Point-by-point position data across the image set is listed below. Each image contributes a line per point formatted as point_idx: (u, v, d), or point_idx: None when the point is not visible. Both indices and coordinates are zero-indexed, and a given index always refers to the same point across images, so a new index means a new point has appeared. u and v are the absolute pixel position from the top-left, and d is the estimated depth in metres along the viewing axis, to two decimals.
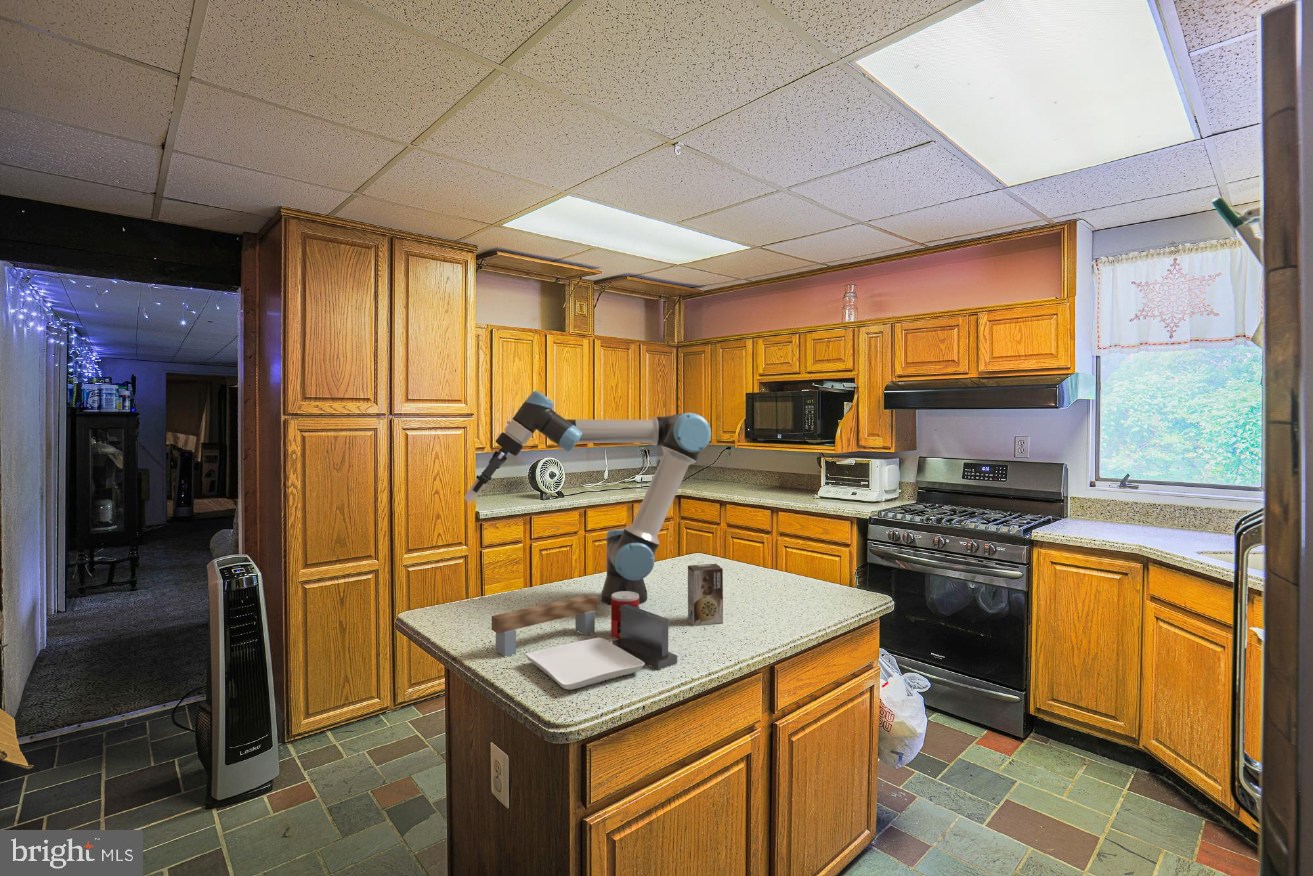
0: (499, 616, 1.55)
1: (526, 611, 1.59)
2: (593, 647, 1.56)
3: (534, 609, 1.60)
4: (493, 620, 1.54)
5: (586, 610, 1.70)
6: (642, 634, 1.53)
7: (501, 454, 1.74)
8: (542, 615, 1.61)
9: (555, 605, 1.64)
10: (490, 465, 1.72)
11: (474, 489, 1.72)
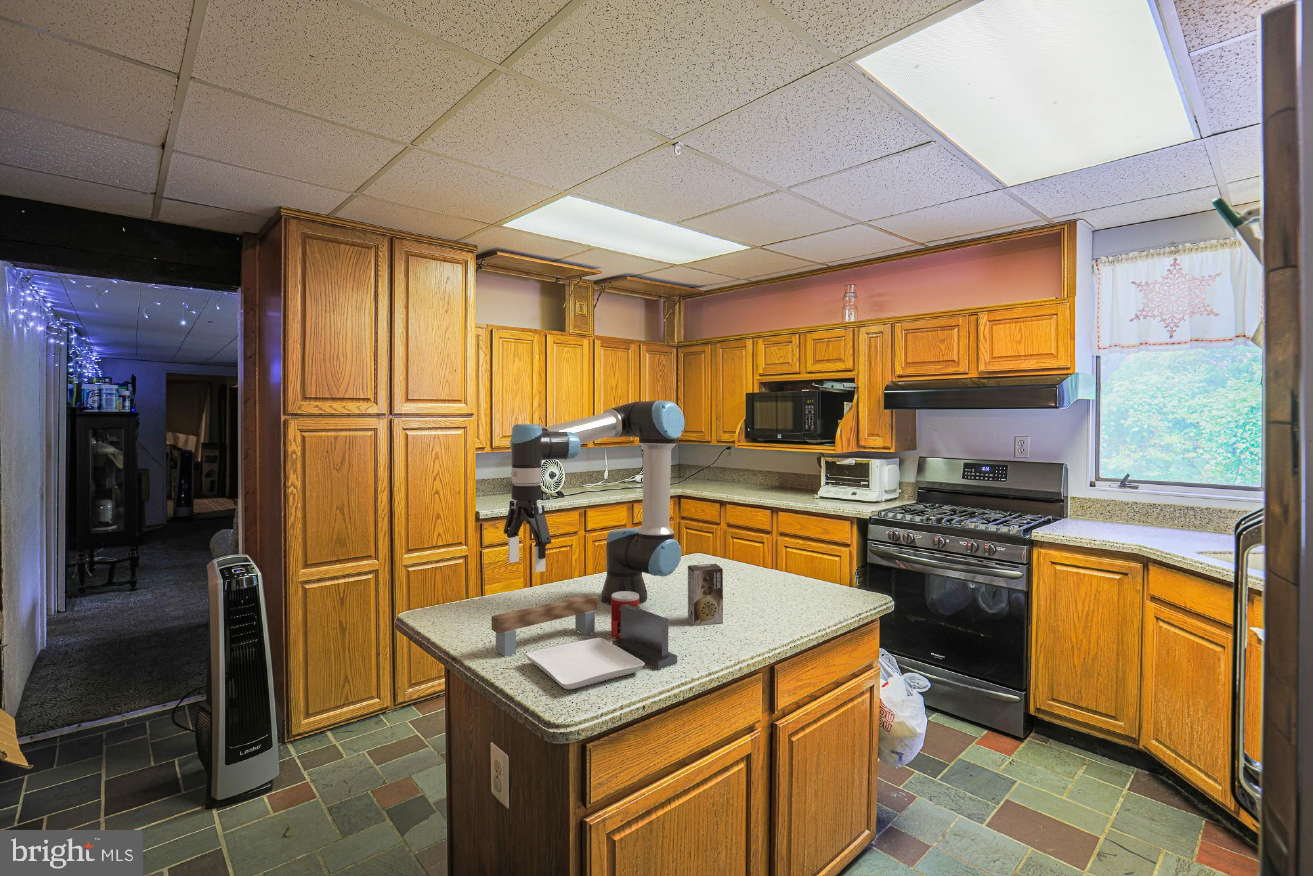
0: (499, 616, 1.55)
1: (526, 611, 1.59)
2: (593, 647, 1.56)
3: (534, 609, 1.60)
4: (493, 620, 1.54)
5: (586, 610, 1.70)
6: (642, 634, 1.53)
7: (539, 508, 1.54)
8: (542, 615, 1.61)
9: (555, 605, 1.64)
10: (540, 525, 1.52)
11: (542, 557, 1.53)
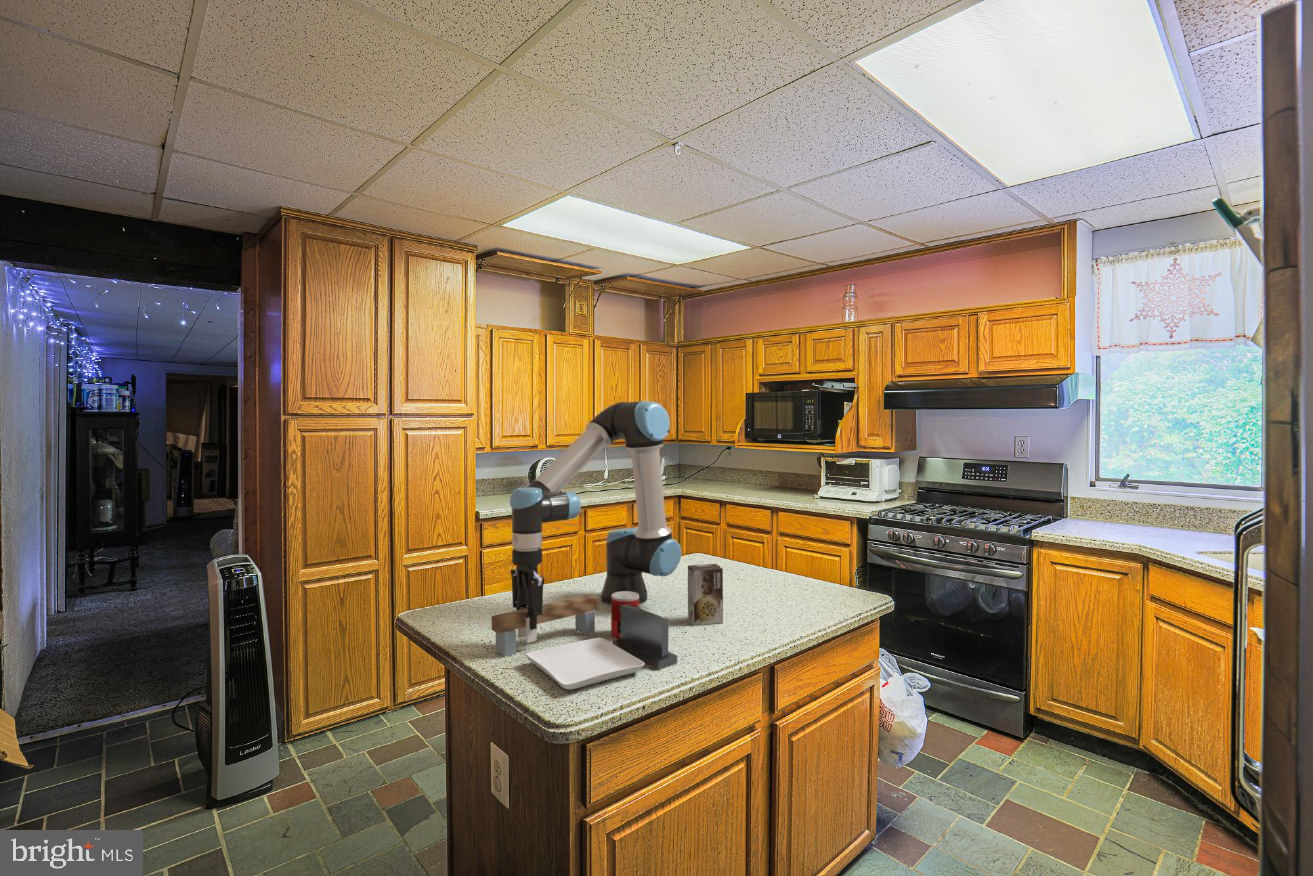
0: (499, 616, 1.55)
1: (526, 611, 1.59)
2: (593, 647, 1.56)
3: None
4: (494, 620, 1.54)
5: (586, 610, 1.70)
6: (642, 634, 1.53)
7: (539, 581, 1.54)
8: (542, 615, 1.61)
9: (555, 605, 1.64)
10: (536, 598, 1.55)
11: (533, 627, 1.57)
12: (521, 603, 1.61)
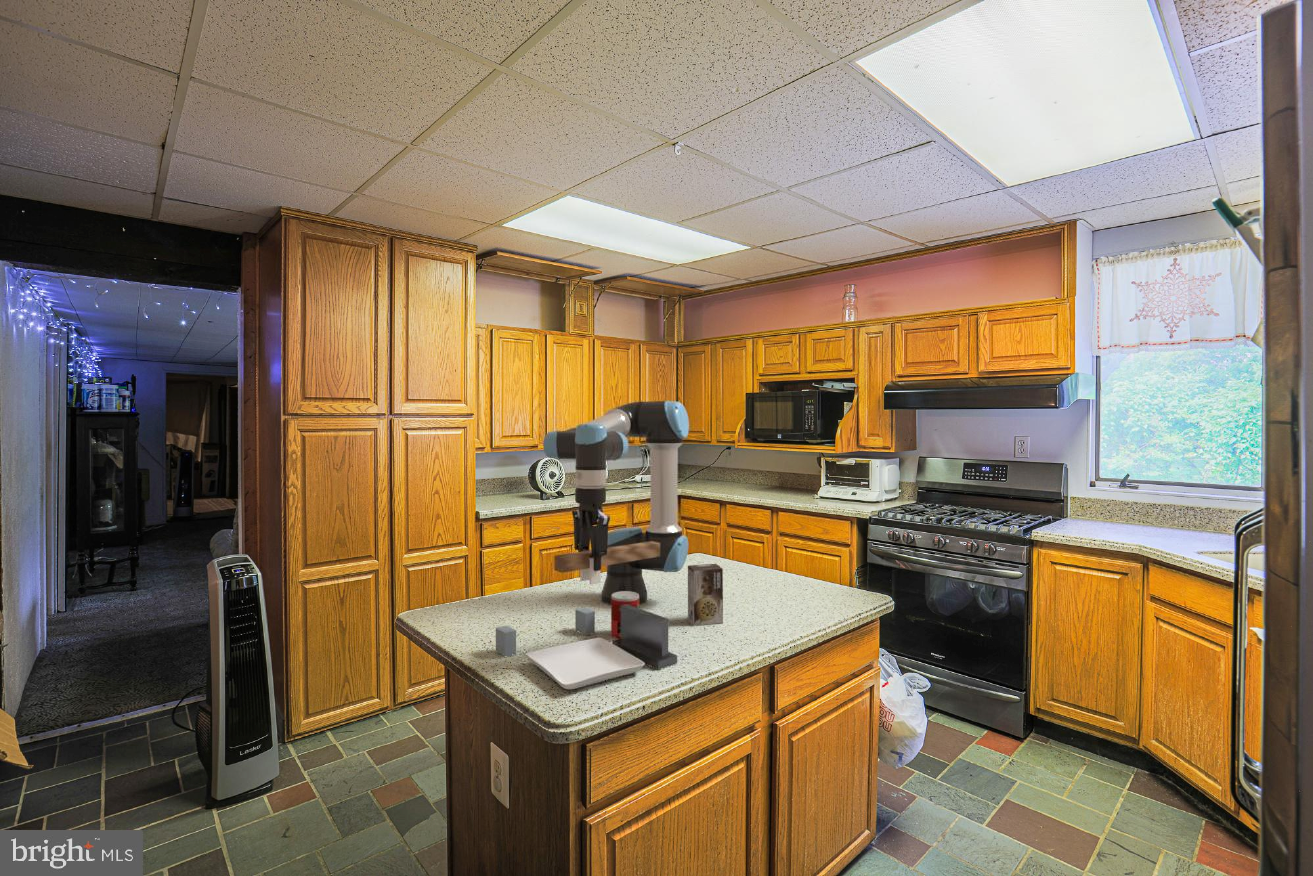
0: (562, 556, 1.48)
1: (590, 552, 1.52)
2: (593, 647, 1.56)
3: None
4: (557, 559, 1.47)
5: (649, 556, 1.62)
6: (642, 634, 1.53)
7: (605, 519, 1.47)
8: (606, 557, 1.54)
9: (618, 548, 1.57)
10: (601, 537, 1.48)
11: (597, 569, 1.50)
12: (584, 545, 1.54)
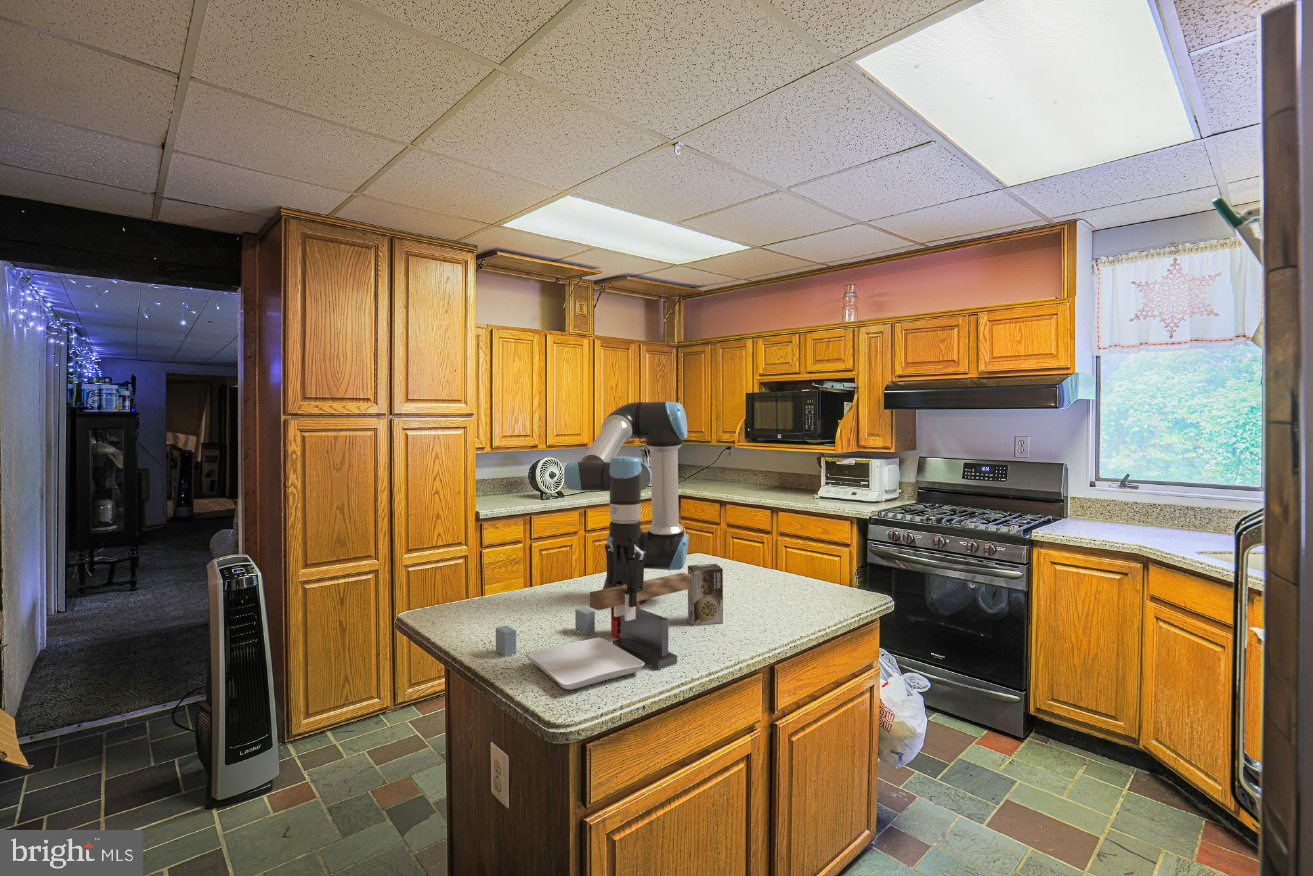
0: (598, 592, 1.45)
1: (624, 587, 1.49)
2: (593, 647, 1.56)
3: None
4: (592, 596, 1.44)
5: (681, 588, 1.60)
6: (642, 634, 1.53)
7: (641, 555, 1.45)
8: (640, 592, 1.51)
9: (651, 582, 1.54)
10: (637, 573, 1.45)
11: (633, 605, 1.47)
12: (617, 579, 1.51)
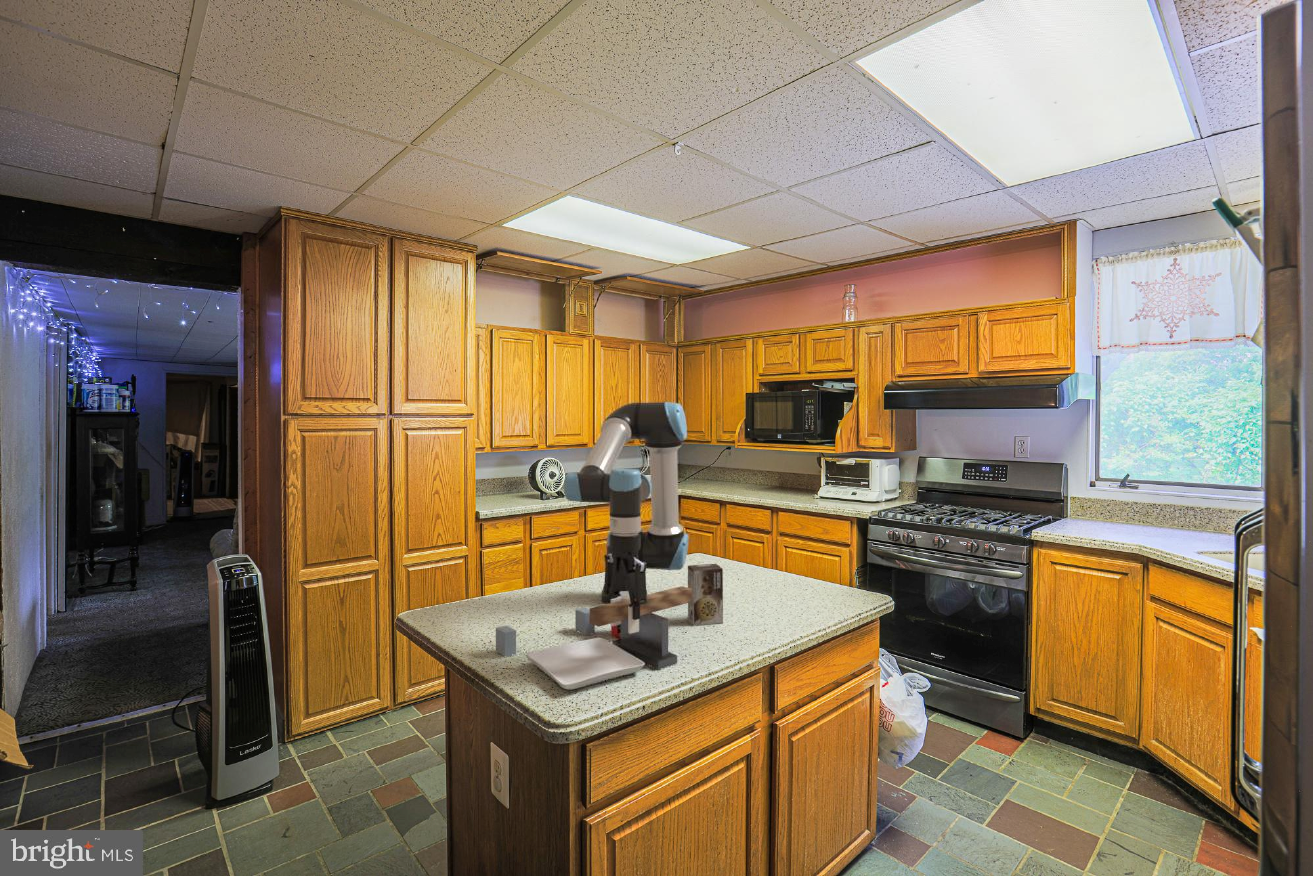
0: (598, 608, 1.45)
1: (624, 603, 1.49)
2: (593, 647, 1.56)
3: None
4: (592, 612, 1.44)
5: (681, 602, 1.60)
6: (642, 634, 1.53)
7: (642, 566, 1.45)
8: (640, 607, 1.51)
9: (651, 597, 1.54)
10: (639, 585, 1.44)
11: (636, 617, 1.46)
12: (615, 590, 1.52)
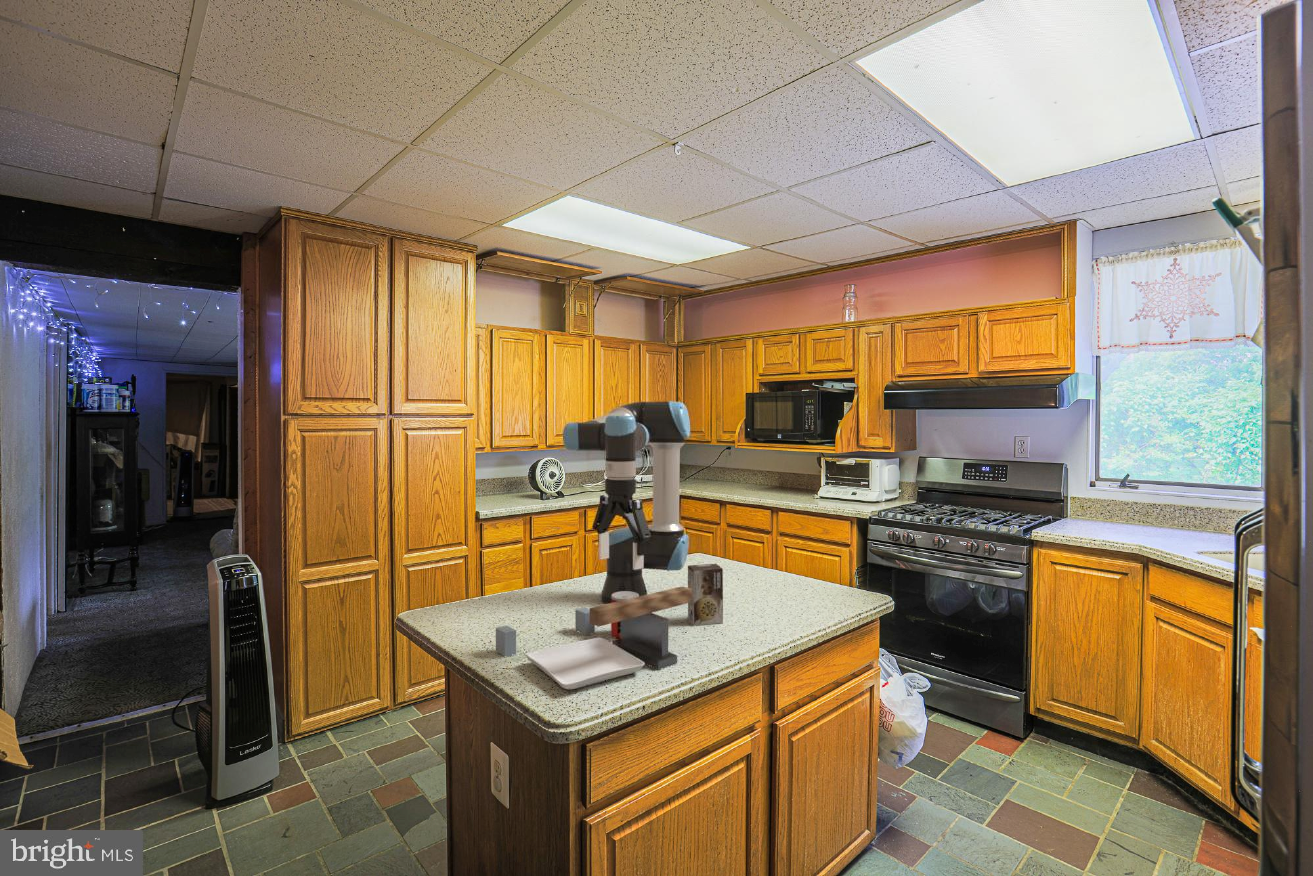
0: (598, 608, 1.45)
1: (624, 603, 1.49)
2: (593, 647, 1.56)
3: (632, 601, 1.51)
4: (592, 612, 1.44)
5: (681, 602, 1.60)
6: (642, 634, 1.53)
7: (638, 502, 1.48)
8: (640, 607, 1.51)
9: (651, 597, 1.54)
10: (640, 521, 1.47)
11: (641, 553, 1.47)
12: (604, 527, 1.58)
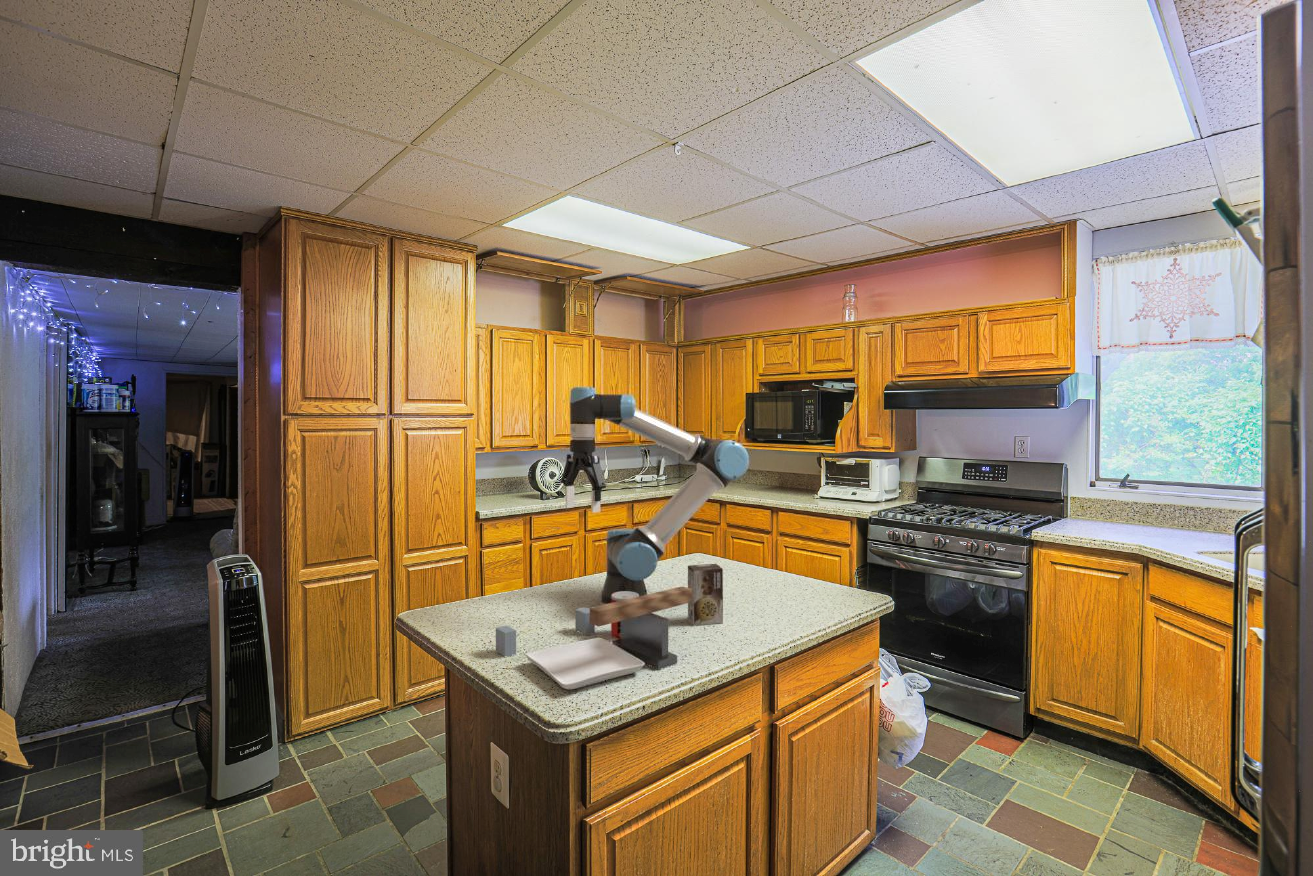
0: (598, 608, 1.45)
1: (624, 603, 1.49)
2: (593, 647, 1.56)
3: (632, 601, 1.51)
4: (592, 612, 1.44)
5: (681, 602, 1.60)
6: (642, 634, 1.53)
7: (595, 458, 1.80)
8: (640, 607, 1.51)
9: (651, 597, 1.54)
10: (596, 472, 1.79)
11: (598, 499, 1.79)
12: (570, 481, 1.90)
